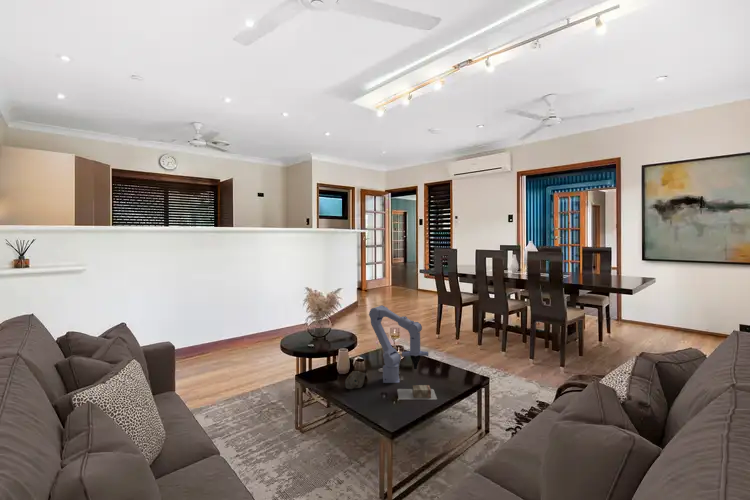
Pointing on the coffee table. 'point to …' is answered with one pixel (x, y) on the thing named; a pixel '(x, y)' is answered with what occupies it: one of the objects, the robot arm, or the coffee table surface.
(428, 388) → the wooden block
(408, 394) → the grey mat
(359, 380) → the rock
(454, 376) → the coffee table surface
